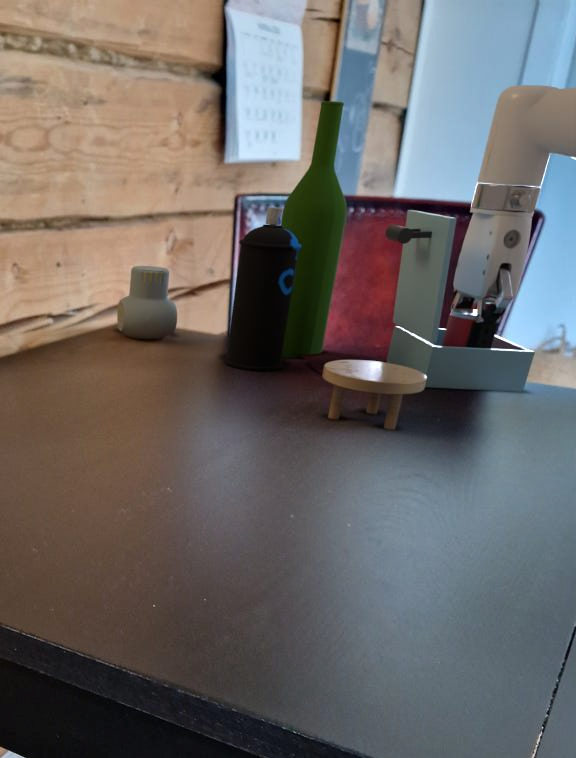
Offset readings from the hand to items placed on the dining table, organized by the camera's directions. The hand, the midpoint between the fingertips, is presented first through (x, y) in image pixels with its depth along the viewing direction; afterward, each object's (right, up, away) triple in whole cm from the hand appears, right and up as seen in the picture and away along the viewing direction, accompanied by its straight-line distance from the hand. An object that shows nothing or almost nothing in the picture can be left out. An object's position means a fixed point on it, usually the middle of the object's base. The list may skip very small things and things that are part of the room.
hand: (465, 347), depth 117 cm
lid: (-8, +8, -5) cm, 12 cm away
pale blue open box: (-1, -4, +2) cm, 5 cm away
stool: (-20, -16, -20) cm, 33 cm away
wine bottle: (-21, +4, +14) cm, 25 cm away
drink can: (0, -3, +2) cm, 4 cm away
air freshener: (-43, +8, +19) cm, 47 cm away
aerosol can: (-28, -1, +5) cm, 29 cm away
